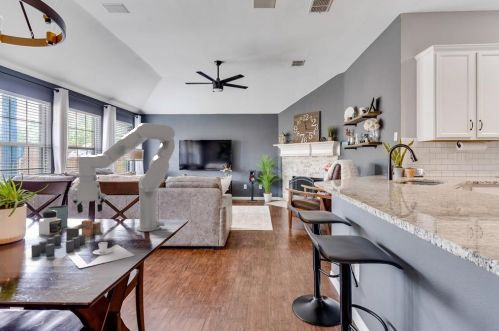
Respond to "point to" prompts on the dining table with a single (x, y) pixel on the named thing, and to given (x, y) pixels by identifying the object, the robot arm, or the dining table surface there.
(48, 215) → the medicine bottle
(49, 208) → the grey cup
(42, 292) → the dining table surface
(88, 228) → the wooden toy mallet
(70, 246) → the board
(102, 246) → the teacup and saucer
